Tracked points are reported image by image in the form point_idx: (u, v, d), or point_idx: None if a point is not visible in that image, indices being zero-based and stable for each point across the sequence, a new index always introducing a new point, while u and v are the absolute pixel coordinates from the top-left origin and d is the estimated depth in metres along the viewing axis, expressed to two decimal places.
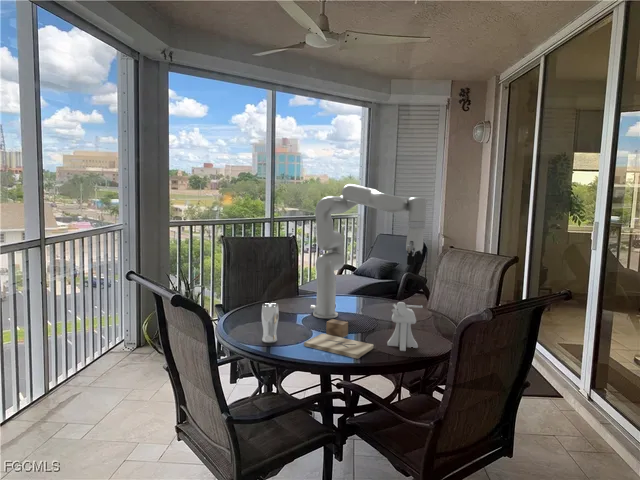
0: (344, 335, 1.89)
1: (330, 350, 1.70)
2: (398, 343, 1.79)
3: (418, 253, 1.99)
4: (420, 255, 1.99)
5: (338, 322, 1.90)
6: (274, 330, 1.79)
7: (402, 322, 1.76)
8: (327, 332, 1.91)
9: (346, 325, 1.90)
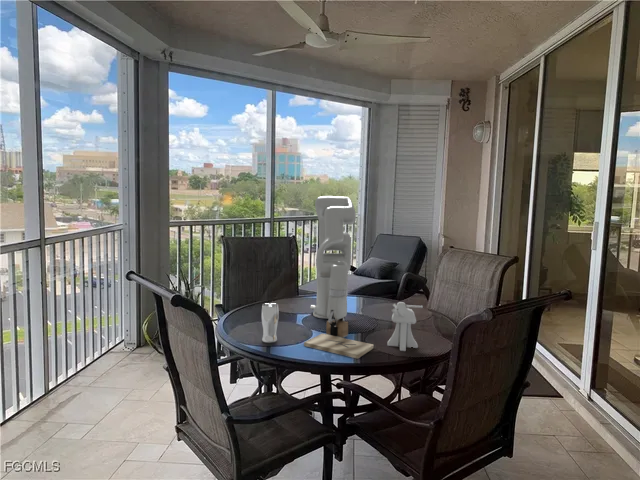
0: (344, 335, 1.89)
1: (330, 350, 1.70)
2: (398, 343, 1.79)
3: None
4: None
5: (338, 322, 1.90)
6: (274, 330, 1.79)
7: (402, 322, 1.76)
8: (327, 332, 1.91)
9: (346, 325, 1.90)
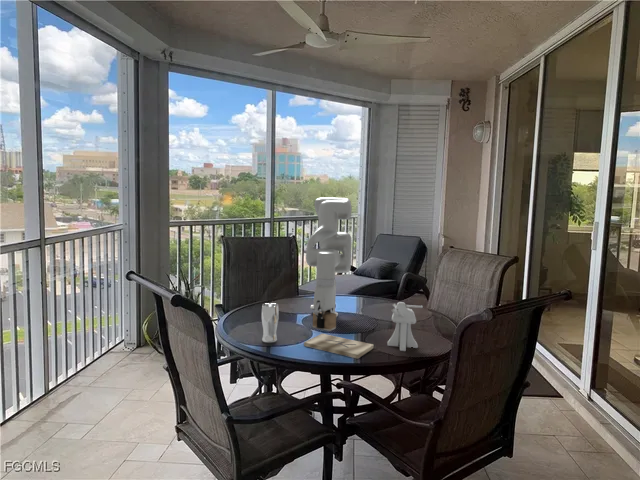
0: (332, 327, 1.76)
1: (330, 350, 1.70)
2: (398, 343, 1.79)
3: None
4: None
5: (325, 313, 1.78)
6: (274, 330, 1.79)
7: (402, 322, 1.76)
8: (314, 324, 1.78)
9: (334, 317, 1.77)
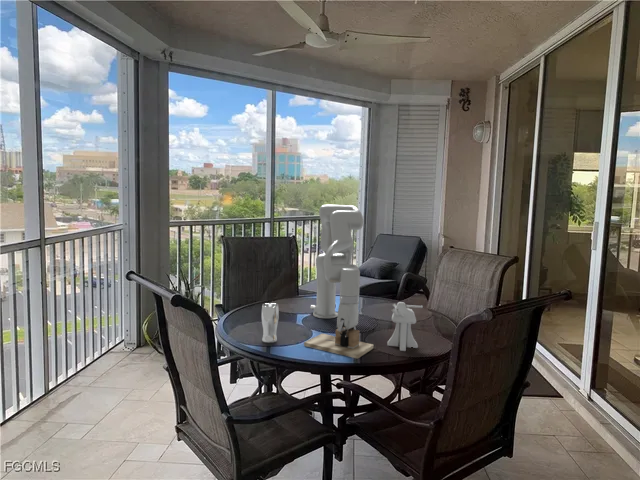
0: (355, 345, 1.71)
1: (330, 350, 1.70)
2: (398, 343, 1.79)
3: None
4: None
5: (348, 330, 1.73)
6: (274, 330, 1.79)
7: (402, 322, 1.76)
8: (336, 341, 1.74)
9: (357, 334, 1.72)
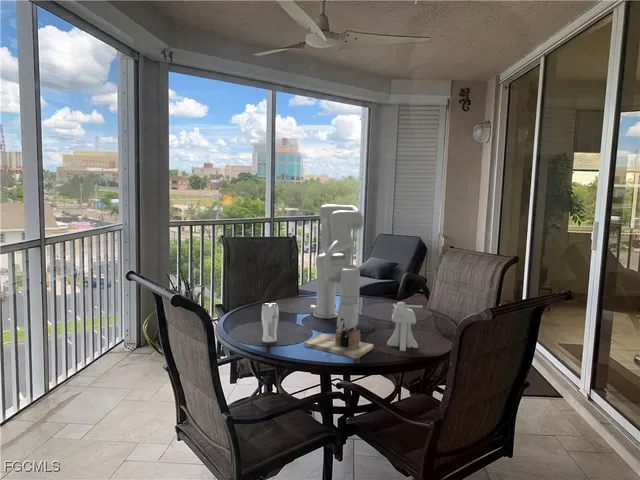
0: (355, 345, 1.71)
1: (330, 350, 1.70)
2: (398, 343, 1.79)
3: None
4: None
5: None
6: (274, 330, 1.79)
7: (402, 322, 1.76)
8: (336, 341, 1.74)
9: (357, 334, 1.72)
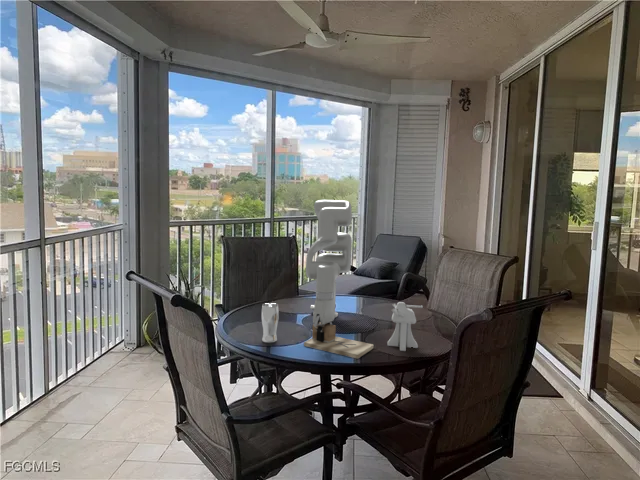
0: (331, 339, 1.77)
1: (330, 350, 1.70)
2: (398, 343, 1.79)
3: None
4: None
5: (325, 325, 1.78)
6: (274, 330, 1.79)
7: (402, 322, 1.76)
8: (313, 336, 1.79)
9: (333, 329, 1.78)
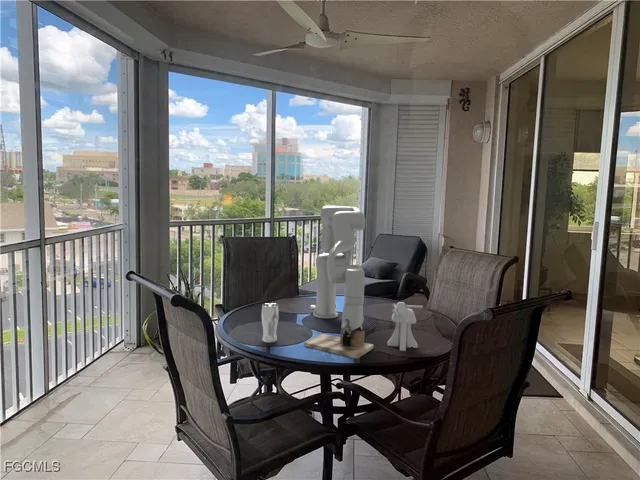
0: (360, 346, 1.70)
1: (330, 350, 1.70)
2: (398, 343, 1.79)
3: (358, 329, 1.76)
4: None
5: (353, 331, 1.72)
6: (274, 330, 1.79)
7: (402, 322, 1.76)
8: (341, 342, 1.72)
9: (362, 335, 1.71)
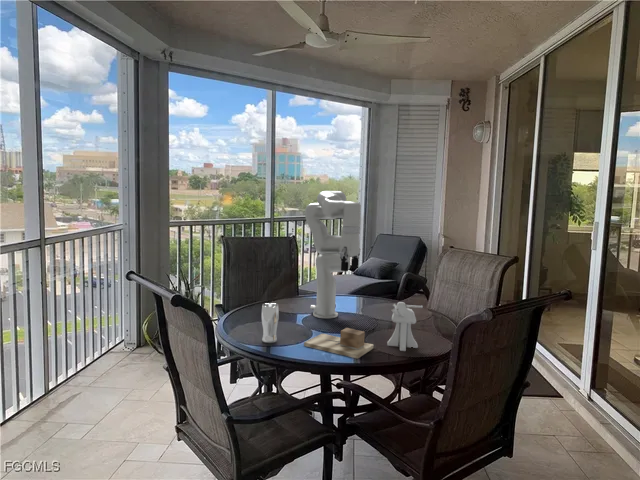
0: (360, 346, 1.70)
1: (330, 350, 1.70)
2: (398, 343, 1.79)
3: (355, 258, 1.96)
4: (356, 261, 1.96)
5: (353, 331, 1.72)
6: (274, 330, 1.79)
7: (402, 322, 1.76)
8: (341, 342, 1.72)
9: (362, 335, 1.71)
